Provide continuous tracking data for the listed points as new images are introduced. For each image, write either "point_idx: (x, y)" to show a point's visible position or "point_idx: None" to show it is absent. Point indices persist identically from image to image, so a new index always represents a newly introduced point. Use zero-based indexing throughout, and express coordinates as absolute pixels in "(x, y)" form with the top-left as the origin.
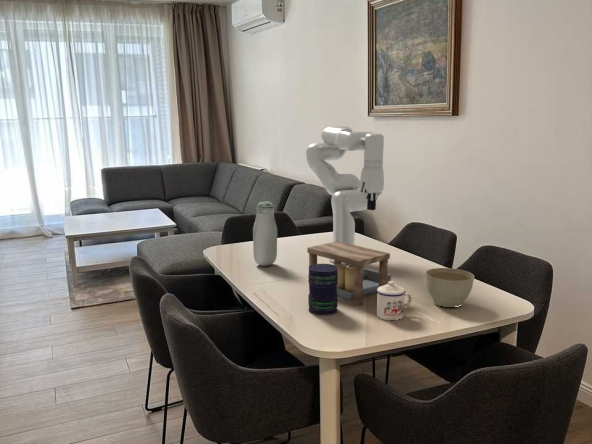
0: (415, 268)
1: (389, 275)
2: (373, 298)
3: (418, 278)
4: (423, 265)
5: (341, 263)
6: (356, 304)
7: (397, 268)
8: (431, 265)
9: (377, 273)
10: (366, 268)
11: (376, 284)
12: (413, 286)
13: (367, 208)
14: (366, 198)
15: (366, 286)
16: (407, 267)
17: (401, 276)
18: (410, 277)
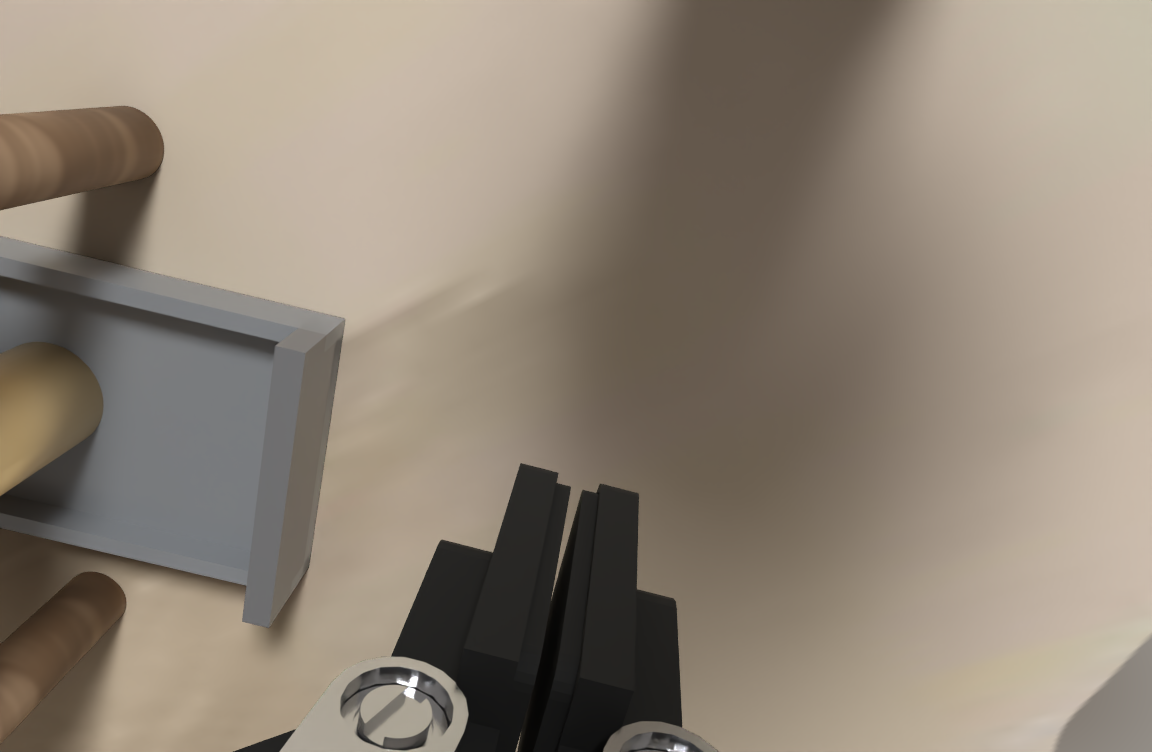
0: (956, 527)
1: (247, 621)
2: (16, 565)
3: None
4: (1099, 548)
5: (32, 201)
6: None
7: (874, 396)
8: (1131, 604)
9: (258, 505)
10: (299, 372)
11: (239, 486)
12: None
13: (516, 479)
14: (322, 702)
15: (141, 445)
16: (956, 458)
17: (640, 521)
18: (654, 588)
